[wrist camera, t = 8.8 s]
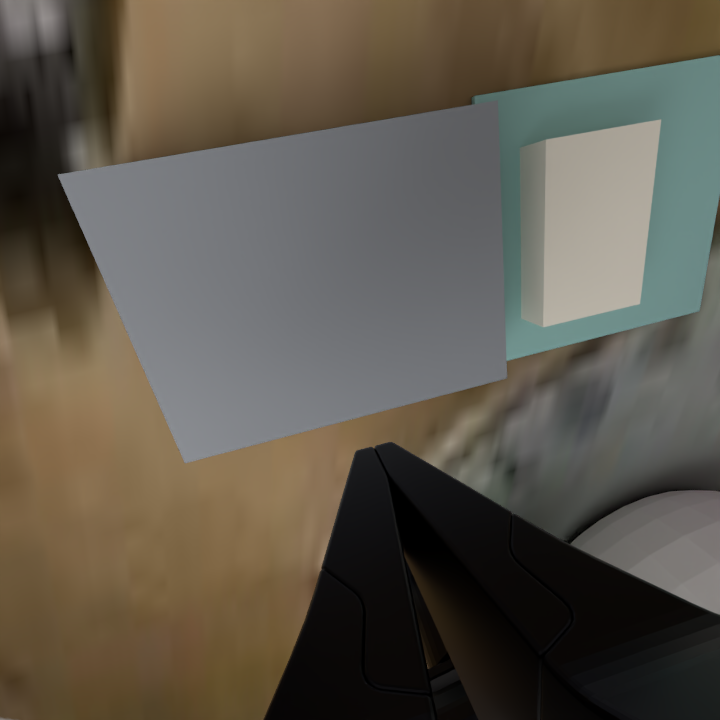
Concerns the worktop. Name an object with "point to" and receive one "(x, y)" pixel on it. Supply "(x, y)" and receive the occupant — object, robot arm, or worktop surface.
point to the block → (585, 221)
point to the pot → (665, 543)
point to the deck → (306, 273)
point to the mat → (670, 192)
